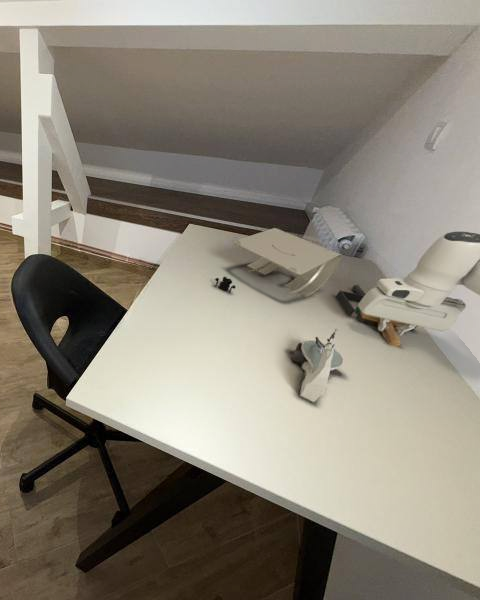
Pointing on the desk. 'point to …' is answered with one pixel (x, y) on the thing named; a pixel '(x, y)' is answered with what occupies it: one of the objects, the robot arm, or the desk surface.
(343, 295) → the dark flat angular piece
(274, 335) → the desk surface
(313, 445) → the desk surface
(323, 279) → the laptop stand
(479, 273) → the robot arm
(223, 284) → the wireless earbuds
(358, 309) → the teal ball
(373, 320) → the wooden t-shaped block
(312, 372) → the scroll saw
